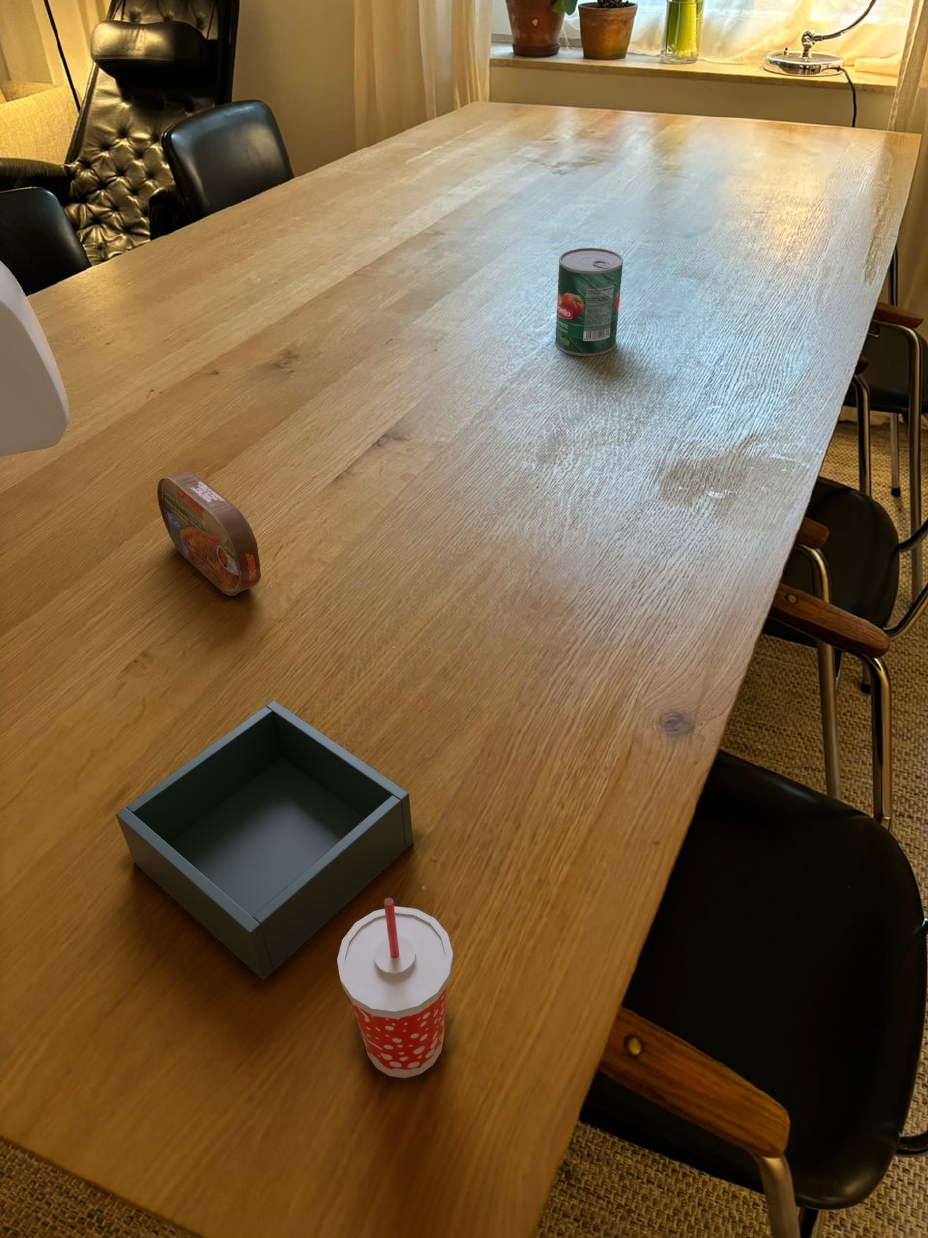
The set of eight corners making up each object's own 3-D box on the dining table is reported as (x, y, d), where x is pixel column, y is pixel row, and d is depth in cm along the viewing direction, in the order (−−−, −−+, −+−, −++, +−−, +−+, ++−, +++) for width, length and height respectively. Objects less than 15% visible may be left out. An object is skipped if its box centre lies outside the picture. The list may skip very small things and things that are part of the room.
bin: (263, 981, 61) (250, 933, 58) (134, 862, 68) (114, 813, 65) (413, 842, 69) (409, 793, 66) (283, 748, 76) (273, 699, 72)
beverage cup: (354, 993, 60) (330, 854, 51) (454, 987, 61) (448, 847, 52) (350, 1094, 56) (323, 961, 47) (459, 1088, 56) (453, 954, 47)
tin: (164, 539, 97) (145, 464, 92) (193, 526, 99) (176, 453, 93) (243, 613, 88) (226, 536, 83) (273, 598, 90) (259, 521, 84)
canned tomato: (542, 342, 129) (545, 258, 122) (583, 324, 133) (589, 242, 126) (587, 362, 124) (592, 276, 117) (628, 343, 128) (636, 258, 121)
